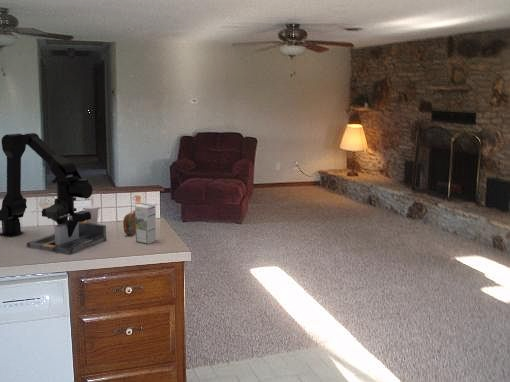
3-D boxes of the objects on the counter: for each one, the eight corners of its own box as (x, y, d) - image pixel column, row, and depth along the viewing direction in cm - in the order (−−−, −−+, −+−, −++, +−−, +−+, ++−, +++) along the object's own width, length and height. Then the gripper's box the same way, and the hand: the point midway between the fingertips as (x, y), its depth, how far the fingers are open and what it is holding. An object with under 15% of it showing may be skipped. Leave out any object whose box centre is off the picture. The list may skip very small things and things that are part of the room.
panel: (55, 244, 201) (54, 226, 199) (73, 237, 210) (73, 220, 209) (60, 245, 200) (59, 226, 199) (79, 238, 209) (78, 220, 208)
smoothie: (97, 231, 222) (96, 198, 219) (81, 231, 222) (80, 197, 219) (102, 227, 228) (101, 194, 225) (86, 227, 228) (85, 194, 225)
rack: (26, 246, 200) (25, 230, 199) (65, 233, 218) (64, 218, 217) (70, 254, 192) (69, 237, 191) (106, 240, 210) (105, 224, 209)
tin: (129, 237, 216) (129, 216, 214) (122, 236, 216) (121, 215, 215) (144, 227, 230) (144, 208, 228) (137, 227, 231) (137, 207, 229)
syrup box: (156, 240, 212) (156, 203, 209) (147, 244, 207) (147, 206, 204) (144, 238, 214) (143, 202, 211) (135, 242, 209) (134, 205, 206)
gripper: (29, 196, 198) (31, 238, 201) (70, 202, 191) (72, 245, 194) (51, 191, 208) (53, 231, 211) (91, 196, 201) (92, 237, 204)
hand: (67, 236), depth 204 cm, fingers closed on panel, 2 cm apart
